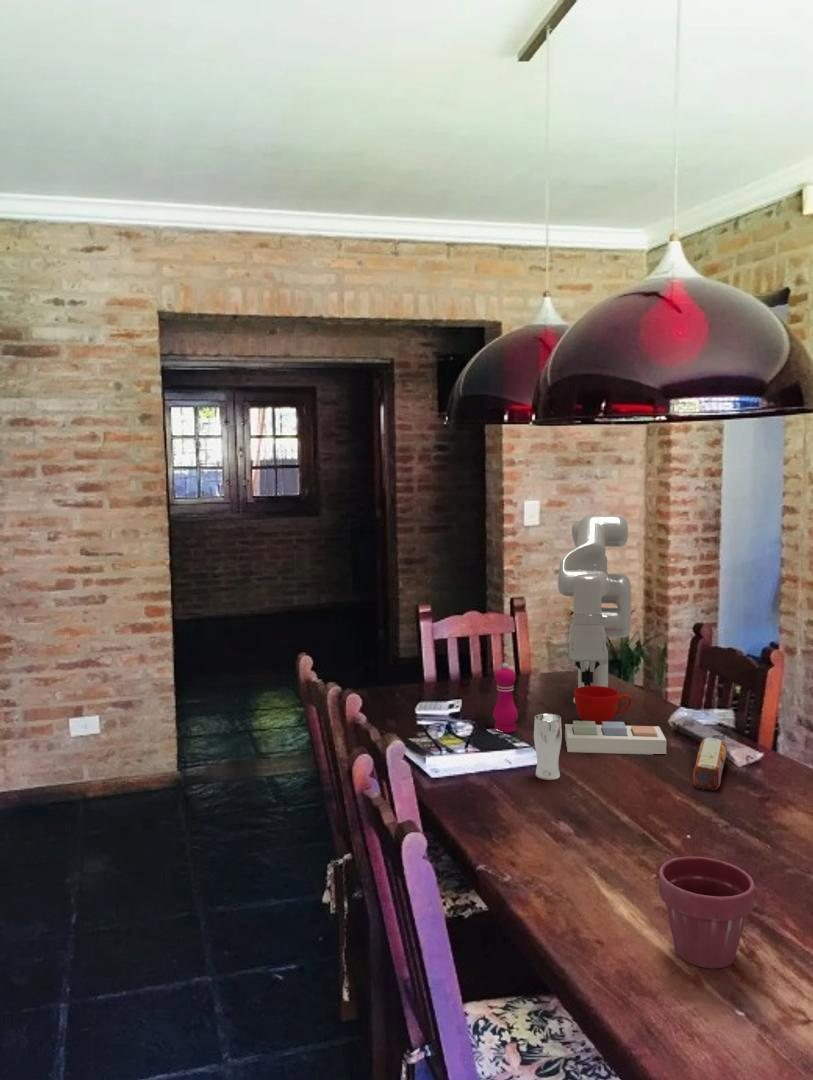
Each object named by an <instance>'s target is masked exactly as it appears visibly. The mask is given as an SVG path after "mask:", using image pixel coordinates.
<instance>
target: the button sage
mask: <svg viewBox="0 0 813 1080" xmlns="http://www.w3.org/2000/svg"><path fill="white" fill-rule="evenodd" d="M572 724H573V732H574V735H597V727H596V724H595V721H583V720H572Z"/></svg>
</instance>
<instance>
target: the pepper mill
mask: <svg viewBox="0 0 813 1080" xmlns="http://www.w3.org/2000/svg"><path fill="white" fill-rule="evenodd" d="M501 667H502V668H500V669H498V670H497V671H496V672H495V675H494V680H495V682H496V683H497V684H496V690H497V692H498V693H497V694H498V695H497V696H498V697H497V701H496V705H495V706H494V709H493V713H492V714H493V716H492V717H493V719H494V720H495V723H494V730H495V729H498V730H500V731H503V732H505V733H504V734H509V733H510V734H512V733H515V732H516V731H517V723H515V722H516V721H517V720H518V717H519V715H518V714H519V713H518V710H517V707H516V705H515V702H514V698H513V691H514V687H515V684H514V683H515V681H516V679H517V677H516V674H515V671H514V670H513V669H511V668H509V664H508V663H505V662H503V664H501Z"/></svg>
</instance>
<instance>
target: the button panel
mask: <svg viewBox="0 0 813 1080" xmlns="http://www.w3.org/2000/svg"><path fill="white" fill-rule="evenodd" d="M625 726H626V728H627V736H604V735H603V732H602V725H596V727H597V735H574V732H573V723H572V724H571V723H564V739H565V743H566V744H565V746H566V750H567V752H568V753H585V754H586V753H589V754H621V755H622V754H624V755H625V754H626V755H627V754H628V755H653V754H666V755H667V739H666V737H665V735H664V733H663V731H662V729H661V727H660V726H659V725H658V726H657V725H655V726H653V725H652V726H653V727H654V728H655V730H656V732H657V737H642V736H633V735H632V732H631V726H632V725H625Z"/></svg>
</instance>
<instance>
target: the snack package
mask: <svg viewBox="0 0 813 1080" xmlns="http://www.w3.org/2000/svg"><path fill="white" fill-rule="evenodd" d="M726 753H727V754H728V747H727V744H726V742H724V741H723V740H721V739H720V738H719V739H718V738H714V737H706V738H703V739H702V740H701V742H700V744H699V750H698V752H697V757H696V762H695V765H694V768H693V773H692V775H693V776H692V780H693V785H694V787H695V788H697V789H698V788H703V789H702V790H704V789H712V790H711V791H716V790H717V789H719V787H720V785H721V780H722V775H723V770H724V766H725V761H726V758H727V755H726Z"/></svg>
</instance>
